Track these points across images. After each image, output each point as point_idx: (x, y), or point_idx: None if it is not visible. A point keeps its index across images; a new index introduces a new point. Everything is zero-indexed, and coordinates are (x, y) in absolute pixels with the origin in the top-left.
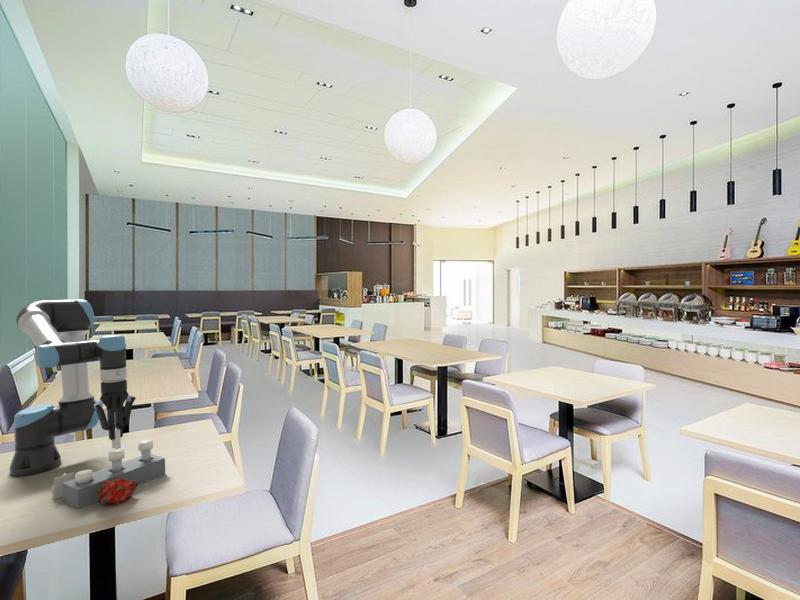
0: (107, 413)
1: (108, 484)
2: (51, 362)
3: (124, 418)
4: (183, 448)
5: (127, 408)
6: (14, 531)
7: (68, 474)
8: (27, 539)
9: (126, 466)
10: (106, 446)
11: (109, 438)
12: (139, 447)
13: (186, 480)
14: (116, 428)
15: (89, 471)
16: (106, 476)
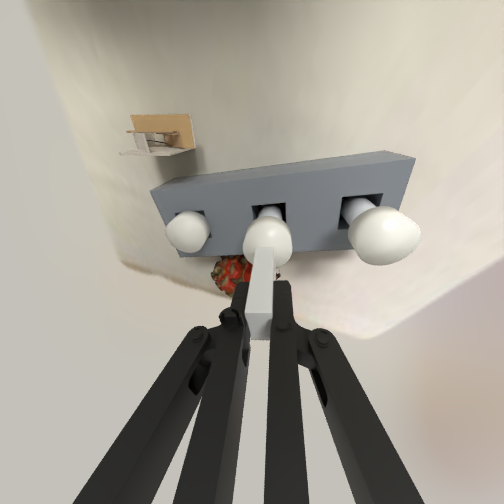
0: (179, 483)
1: (225, 289)
2: None
3: (335, 380)
4: None
5: None
6: (117, 233)
7: (155, 155)
8: (140, 267)
9: (295, 218)
10: None
11: (236, 288)
12: (351, 238)
13: (356, 281)
14: (269, 319)
15: (196, 240)
16: (237, 240)
